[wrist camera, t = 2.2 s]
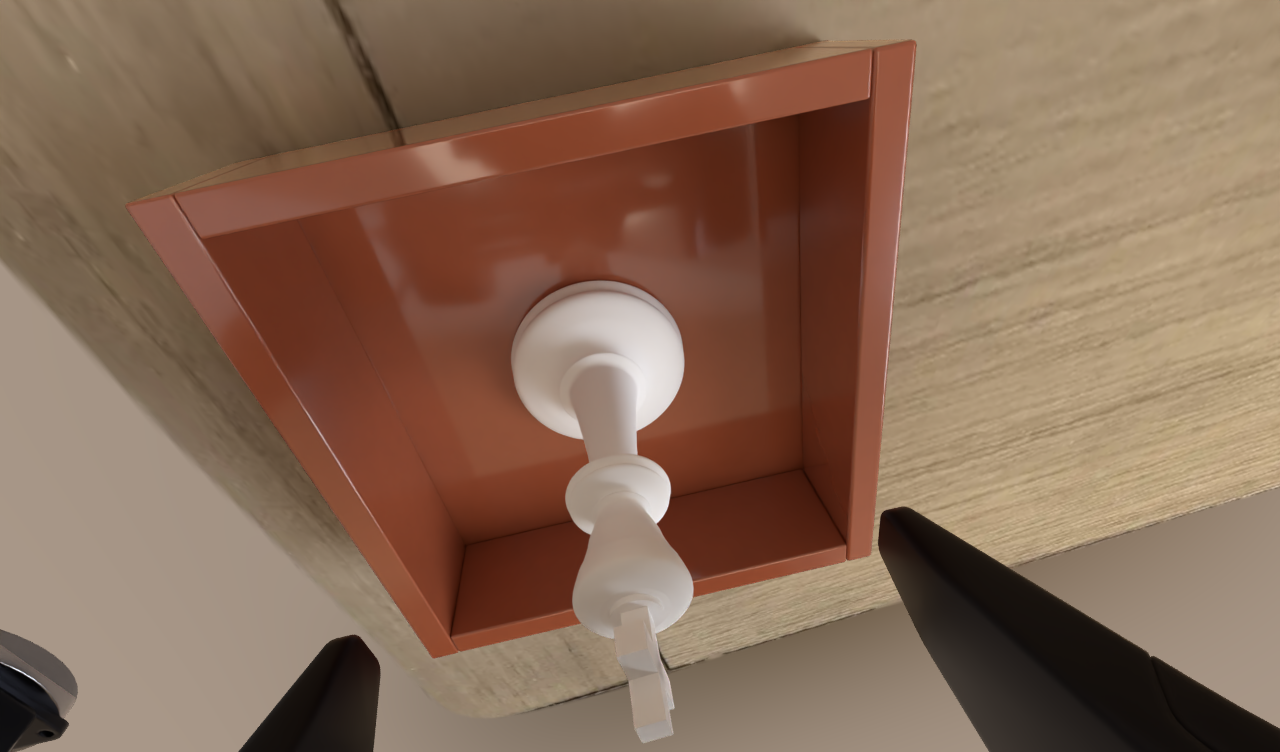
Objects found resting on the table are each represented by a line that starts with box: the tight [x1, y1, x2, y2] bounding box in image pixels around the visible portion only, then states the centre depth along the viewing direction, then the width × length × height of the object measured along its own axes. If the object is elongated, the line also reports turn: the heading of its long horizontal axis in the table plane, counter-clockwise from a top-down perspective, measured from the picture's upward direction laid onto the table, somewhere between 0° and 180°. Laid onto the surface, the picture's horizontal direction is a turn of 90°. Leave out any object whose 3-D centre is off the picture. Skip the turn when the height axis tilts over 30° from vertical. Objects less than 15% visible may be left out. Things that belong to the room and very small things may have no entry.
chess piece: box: [511, 280, 694, 743], centre depth 11 cm, size 5×5×10 cm
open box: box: [125, 39, 917, 658], centre depth 14 cm, size 14×14×4 cm
